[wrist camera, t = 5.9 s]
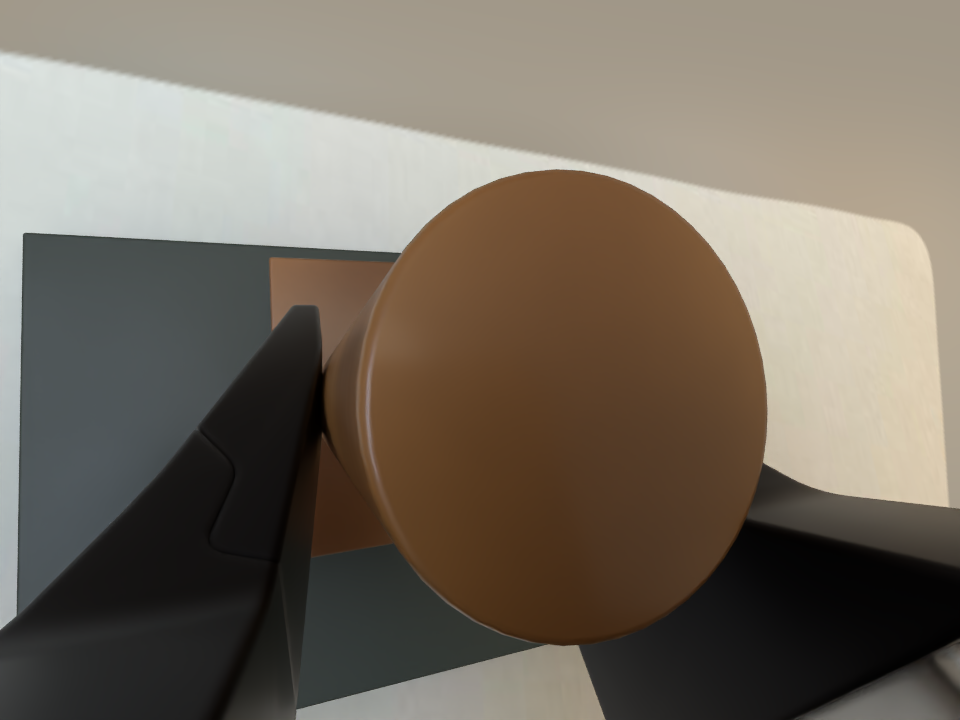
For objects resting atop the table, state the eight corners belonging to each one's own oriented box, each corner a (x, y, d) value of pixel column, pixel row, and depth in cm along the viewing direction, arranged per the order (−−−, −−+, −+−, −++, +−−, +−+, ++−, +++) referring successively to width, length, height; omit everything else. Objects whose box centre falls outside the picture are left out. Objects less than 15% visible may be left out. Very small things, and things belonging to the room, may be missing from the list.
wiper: (429, 280, 16) (796, -56, 4) (442, 515, 16) (900, 874, 4) (272, 276, 15) (150, -325, 3) (281, 540, 14) (180, 1378, 2)
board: (659, 273, 21) (675, 267, 20) (684, 595, 20) (702, 605, 19) (41, 243, 14) (21, 231, 13) (34, 756, 13) (12, 784, 12)
